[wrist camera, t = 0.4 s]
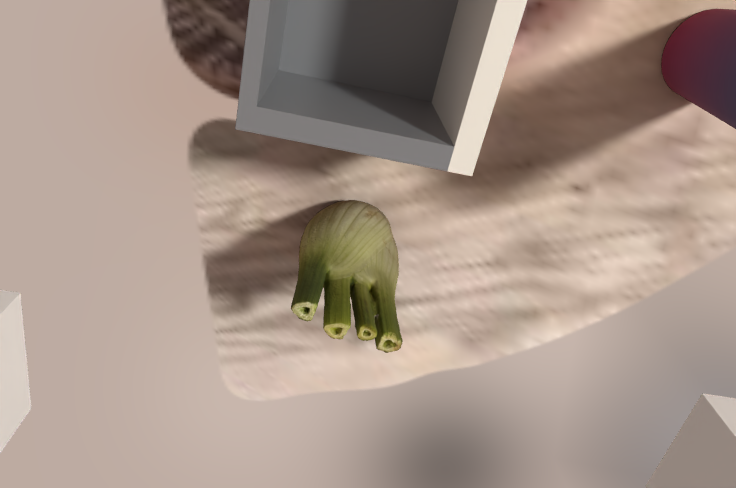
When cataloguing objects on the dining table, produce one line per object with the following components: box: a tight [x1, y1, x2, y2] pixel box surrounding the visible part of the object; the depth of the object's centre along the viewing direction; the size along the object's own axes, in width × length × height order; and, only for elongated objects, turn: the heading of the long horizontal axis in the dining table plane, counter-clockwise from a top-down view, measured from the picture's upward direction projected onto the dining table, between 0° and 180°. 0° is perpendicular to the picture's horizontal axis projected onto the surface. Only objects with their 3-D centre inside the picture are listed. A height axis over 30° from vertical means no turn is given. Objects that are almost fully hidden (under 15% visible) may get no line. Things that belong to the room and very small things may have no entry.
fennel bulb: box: [291, 200, 403, 353], centre depth 33 cm, size 6×5×12 cm
